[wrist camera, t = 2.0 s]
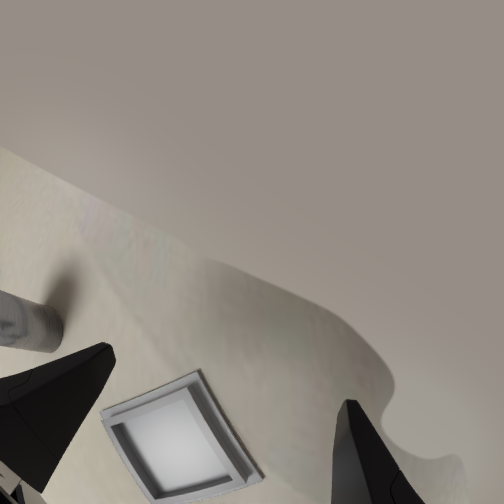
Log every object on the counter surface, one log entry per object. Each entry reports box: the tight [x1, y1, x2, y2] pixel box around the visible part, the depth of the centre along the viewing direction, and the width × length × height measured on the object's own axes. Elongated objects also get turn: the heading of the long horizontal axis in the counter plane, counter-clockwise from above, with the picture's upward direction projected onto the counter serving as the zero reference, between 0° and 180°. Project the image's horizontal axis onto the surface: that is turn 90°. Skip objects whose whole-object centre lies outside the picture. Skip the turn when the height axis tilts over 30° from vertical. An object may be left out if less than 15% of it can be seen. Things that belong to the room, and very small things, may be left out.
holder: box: [99, 371, 263, 504], centre depth 19 cm, size 12×12×2 cm
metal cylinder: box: [0, 290, 63, 353], centre depth 20 cm, size 6×6×10 cm
